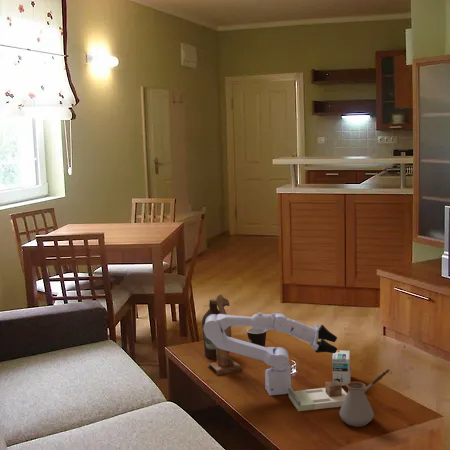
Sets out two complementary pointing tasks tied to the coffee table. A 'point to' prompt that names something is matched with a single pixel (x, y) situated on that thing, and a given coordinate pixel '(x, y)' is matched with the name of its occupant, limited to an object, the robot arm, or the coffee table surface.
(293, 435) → the coffee table surface
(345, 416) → the coffee pot
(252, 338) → the coffee mug
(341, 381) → the light bulb box
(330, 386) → the walnut block
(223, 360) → the bird sculpture
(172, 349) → the coffee table surface
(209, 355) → the olive oil
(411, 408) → the coffee table surface
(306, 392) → the trap deck
